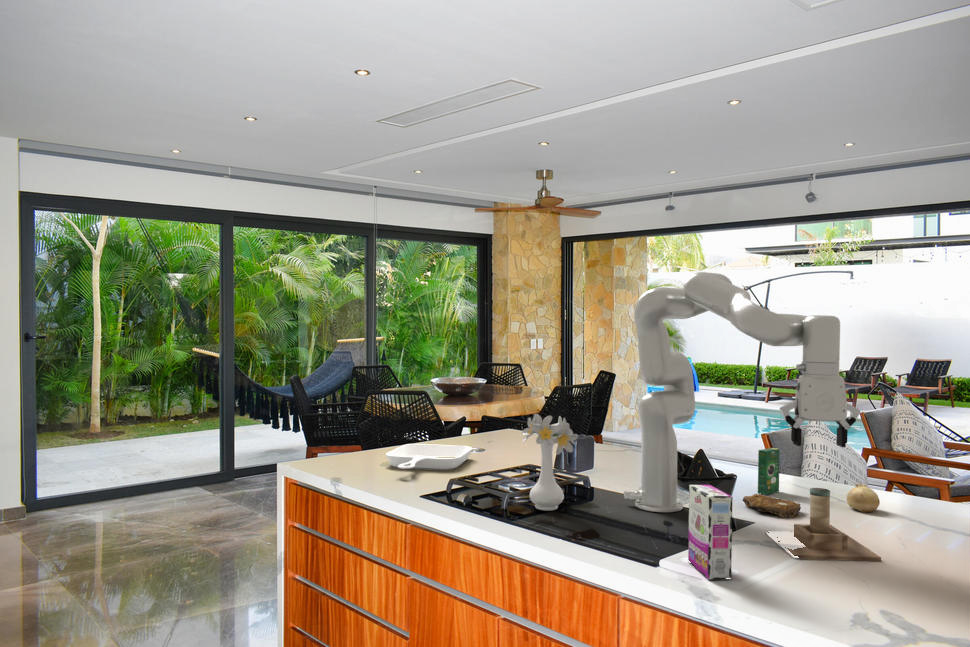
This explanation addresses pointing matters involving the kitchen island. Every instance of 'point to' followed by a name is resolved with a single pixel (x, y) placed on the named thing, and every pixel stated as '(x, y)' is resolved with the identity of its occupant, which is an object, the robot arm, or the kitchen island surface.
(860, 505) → the onion
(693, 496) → the candy bar box
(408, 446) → the pan
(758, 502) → the decorative rock
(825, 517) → the peg
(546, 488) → the flower vase
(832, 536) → the socket block
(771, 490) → the coffee box
